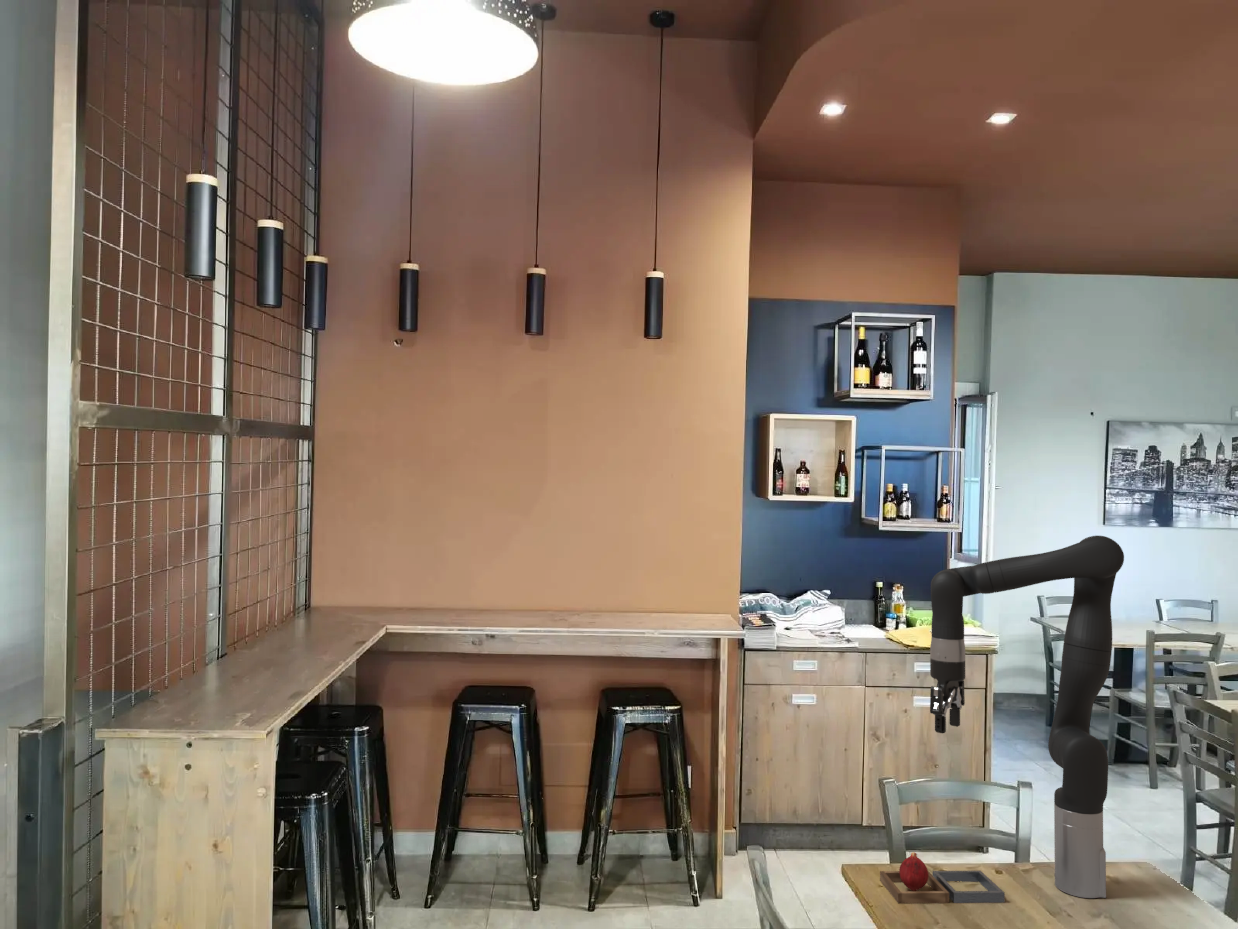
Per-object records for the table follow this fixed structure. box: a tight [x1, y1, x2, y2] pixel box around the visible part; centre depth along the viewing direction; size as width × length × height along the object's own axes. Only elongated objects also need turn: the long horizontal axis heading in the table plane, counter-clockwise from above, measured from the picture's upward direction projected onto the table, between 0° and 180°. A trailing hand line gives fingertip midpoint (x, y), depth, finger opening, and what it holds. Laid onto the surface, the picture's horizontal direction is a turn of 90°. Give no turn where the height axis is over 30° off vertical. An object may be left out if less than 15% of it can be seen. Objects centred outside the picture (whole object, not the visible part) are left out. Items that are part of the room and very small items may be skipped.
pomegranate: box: [898, 851, 929, 891], centre depth 183 cm, size 6×6×8 cm
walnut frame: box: [879, 870, 950, 904], centre depth 182 cm, size 11×11×2 cm
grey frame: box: [932, 870, 1006, 904], centre depth 183 cm, size 11×11×2 cm
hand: (947, 729), depth 198 cm, fingers open, 8 cm apart
